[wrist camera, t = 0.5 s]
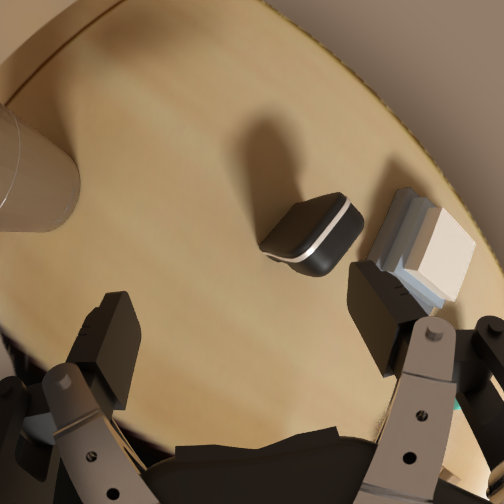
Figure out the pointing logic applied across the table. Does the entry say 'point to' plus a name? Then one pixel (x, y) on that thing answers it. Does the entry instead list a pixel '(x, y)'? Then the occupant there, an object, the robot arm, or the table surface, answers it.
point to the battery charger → (315, 234)
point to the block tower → (423, 249)
